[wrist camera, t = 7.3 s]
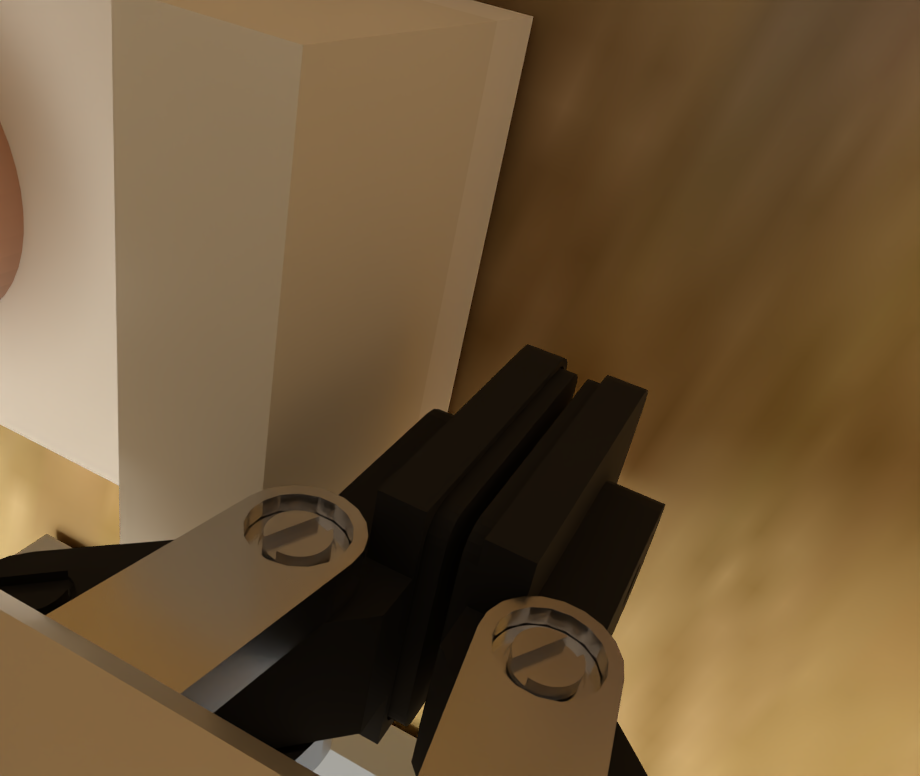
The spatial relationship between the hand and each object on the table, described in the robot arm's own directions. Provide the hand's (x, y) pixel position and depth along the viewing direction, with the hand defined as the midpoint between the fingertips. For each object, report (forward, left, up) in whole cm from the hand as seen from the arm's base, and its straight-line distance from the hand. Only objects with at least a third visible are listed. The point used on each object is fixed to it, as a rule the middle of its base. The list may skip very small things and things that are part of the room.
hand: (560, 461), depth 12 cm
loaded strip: (0, -12, -2) cm, 13 cm away
